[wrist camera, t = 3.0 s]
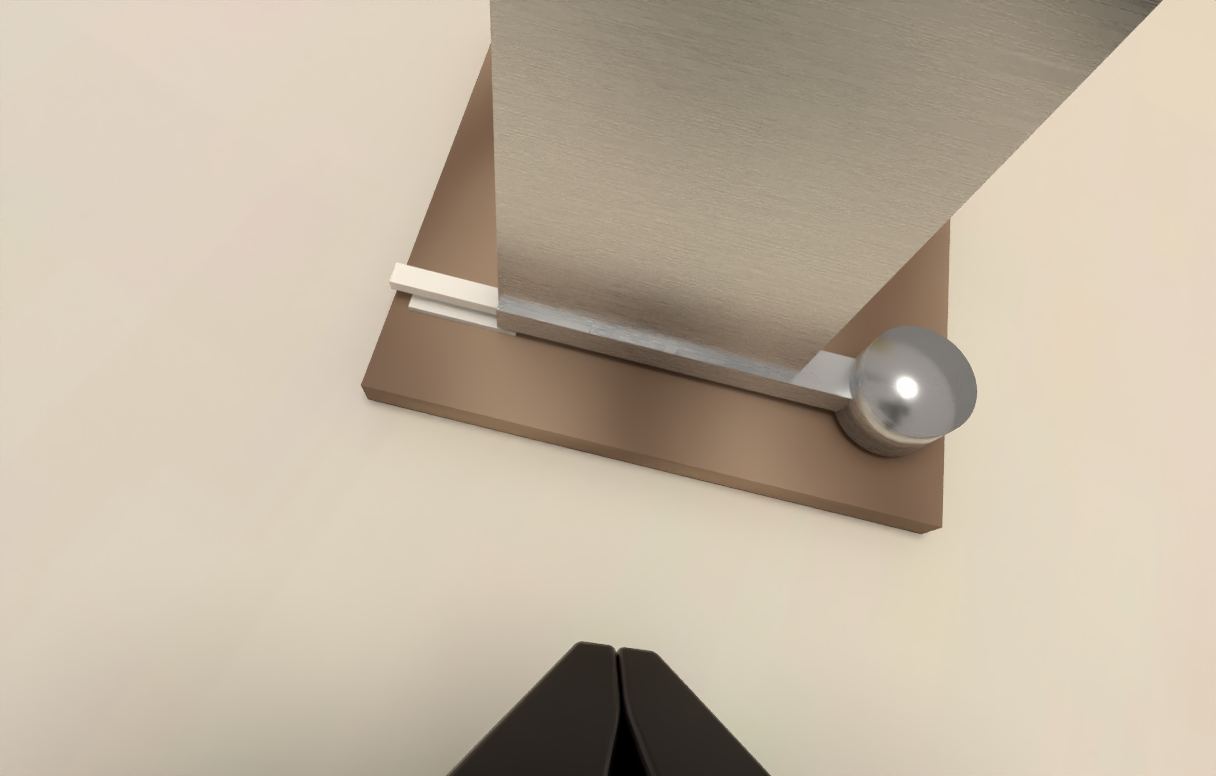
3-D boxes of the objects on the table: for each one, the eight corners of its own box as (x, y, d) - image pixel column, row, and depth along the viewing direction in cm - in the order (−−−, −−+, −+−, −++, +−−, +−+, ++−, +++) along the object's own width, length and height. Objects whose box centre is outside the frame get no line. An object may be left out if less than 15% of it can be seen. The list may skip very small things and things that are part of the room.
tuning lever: (935, 370, 21) (1832, -258, 7) (932, 468, 20) (2010, -46, 6) (413, 238, 20) (190, -765, 6) (378, 330, 19) (1, -644, 5)
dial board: (936, 153, 26) (955, 130, 24) (922, 533, 20) (946, 525, 19) (502, 37, 25) (502, 8, 24) (367, 398, 20) (359, 382, 18)
